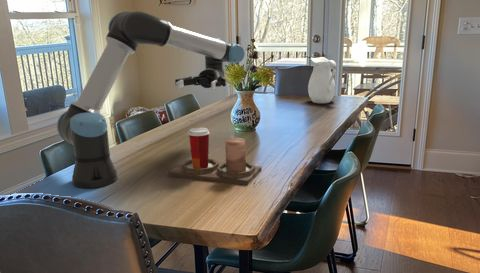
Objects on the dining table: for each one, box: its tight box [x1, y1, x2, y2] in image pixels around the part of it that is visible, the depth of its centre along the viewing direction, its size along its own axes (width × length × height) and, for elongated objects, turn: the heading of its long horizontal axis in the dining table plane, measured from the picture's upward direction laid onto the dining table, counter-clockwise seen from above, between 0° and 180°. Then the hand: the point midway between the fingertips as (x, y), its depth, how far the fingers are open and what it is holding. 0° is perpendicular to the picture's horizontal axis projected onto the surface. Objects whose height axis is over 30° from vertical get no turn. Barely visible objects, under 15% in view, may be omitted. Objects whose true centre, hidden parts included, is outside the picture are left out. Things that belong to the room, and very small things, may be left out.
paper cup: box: [187, 127, 210, 169], centre depth 161 cm, size 8×8×14 cm
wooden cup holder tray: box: [168, 137, 262, 186], centre depth 160 cm, size 15×30×13 cm, turn 69°
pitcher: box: [307, 56, 338, 104], centre depth 278 cm, size 24×17×28 cm
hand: (194, 85), depth 166 cm, fingers open, 13 cm apart
